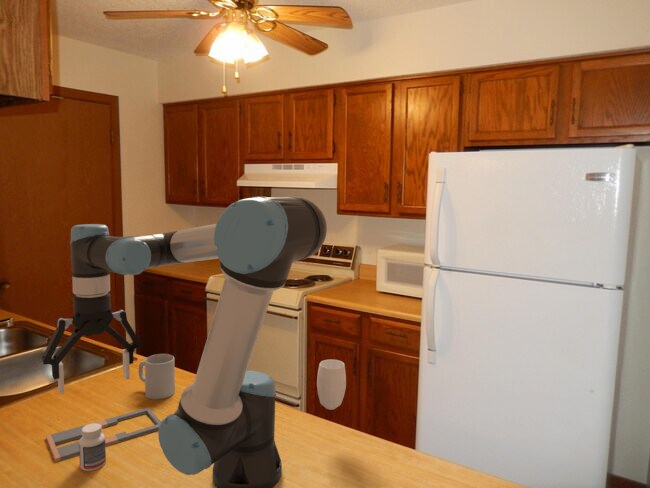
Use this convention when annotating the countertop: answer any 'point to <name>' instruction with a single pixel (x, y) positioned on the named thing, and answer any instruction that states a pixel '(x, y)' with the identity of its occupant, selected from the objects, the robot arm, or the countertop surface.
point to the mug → (158, 376)
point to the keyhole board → (76, 433)
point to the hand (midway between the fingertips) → (95, 384)
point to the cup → (331, 383)
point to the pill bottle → (92, 447)
